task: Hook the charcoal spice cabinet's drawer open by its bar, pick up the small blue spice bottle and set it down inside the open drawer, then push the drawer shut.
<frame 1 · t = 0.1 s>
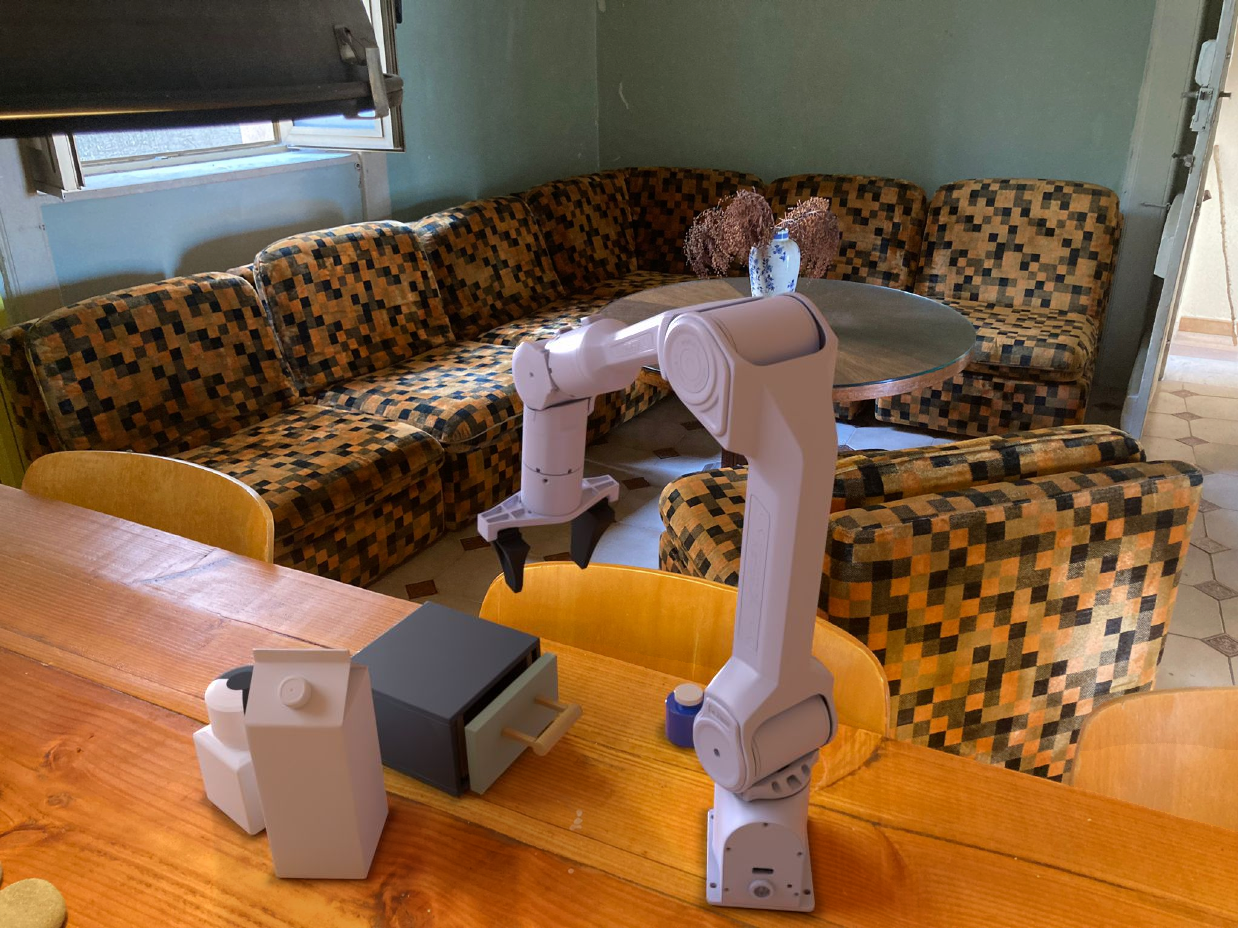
hand: (547, 574, 96), 10 cm above the table, tool pointing down, fingers open, 7 cm apart
milk carton: (335, 846, 78), on the table
medicine bottle: (266, 796, 84), on the table
spice bottle: (687, 732, 90), on the table
cabinet: (445, 727, 91), on the table
drawer: (485, 708, 87), point 4 cm above the table, slide at 1.0 cm
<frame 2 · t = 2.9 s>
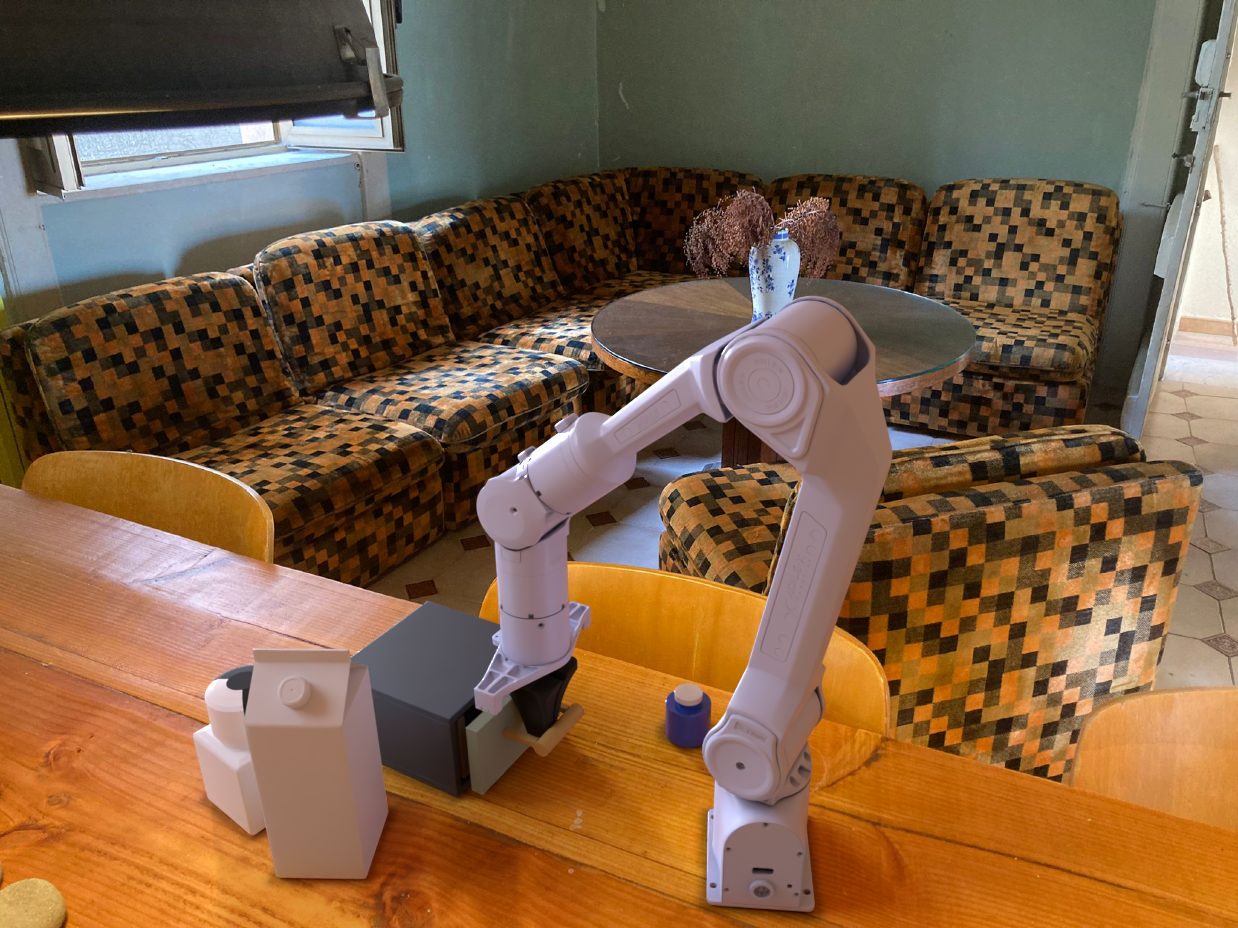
hand: (540, 732, 85), 4 cm above the table, tool pointing down, fingers closed, pressing on drawer
drawer: (486, 708, 87), point 4 cm above the table, slide at 1.1 cm, touching gripper
everything else where it was.
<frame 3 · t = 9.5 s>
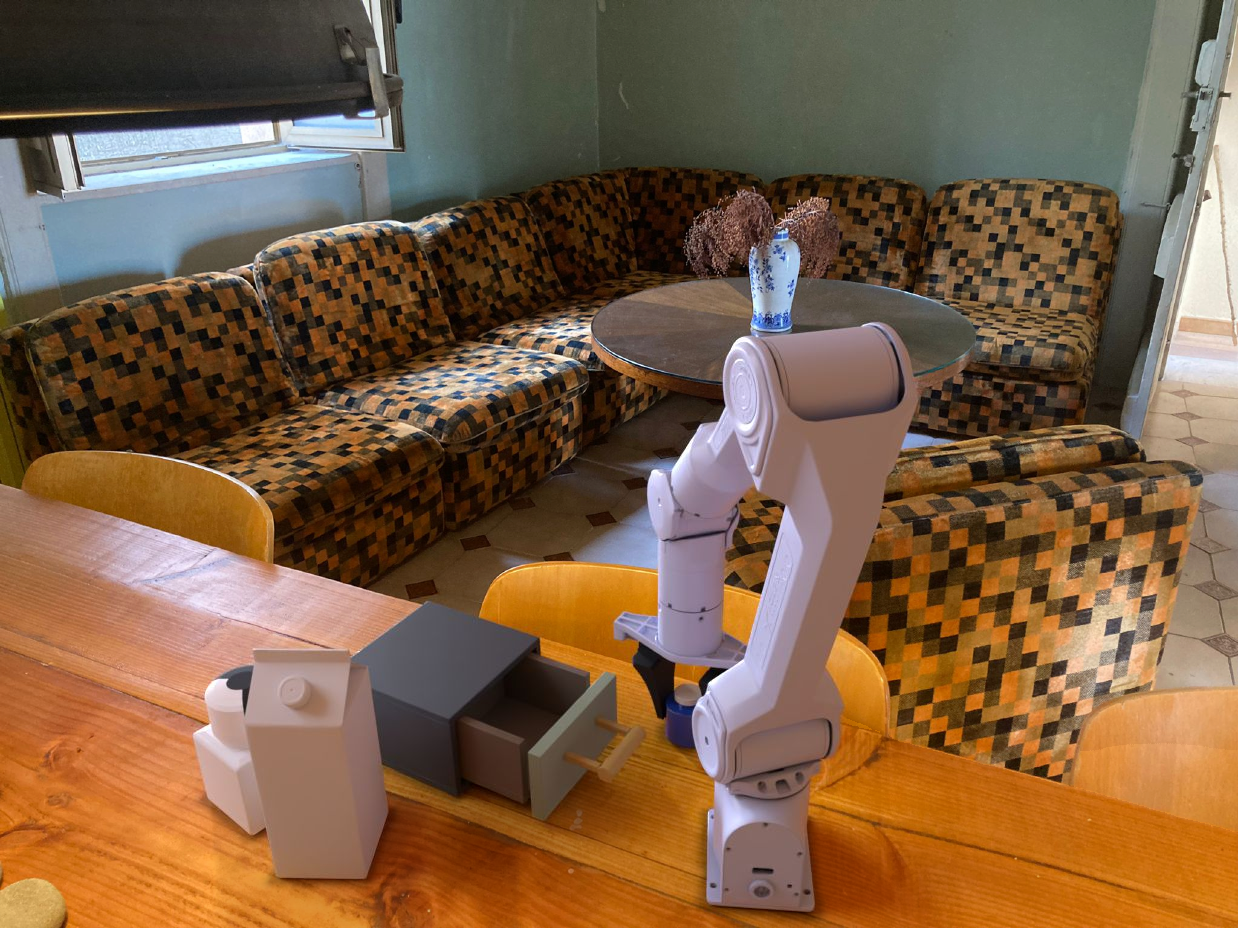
hand: (688, 720, 89), 1 cm above the table, tool pointing down, fingers closed on spice bottle, 4 cm apart
spice bottle: (687, 732, 90), on the table, touching gripper
drawer: (544, 730, 84), point 4 cm above the table, slide at 7.3 cm
everything else where it was.
when the fingers open (4 cm above the table, at t = 15.3 s): spice bottle stays where it is, resting on drawer.
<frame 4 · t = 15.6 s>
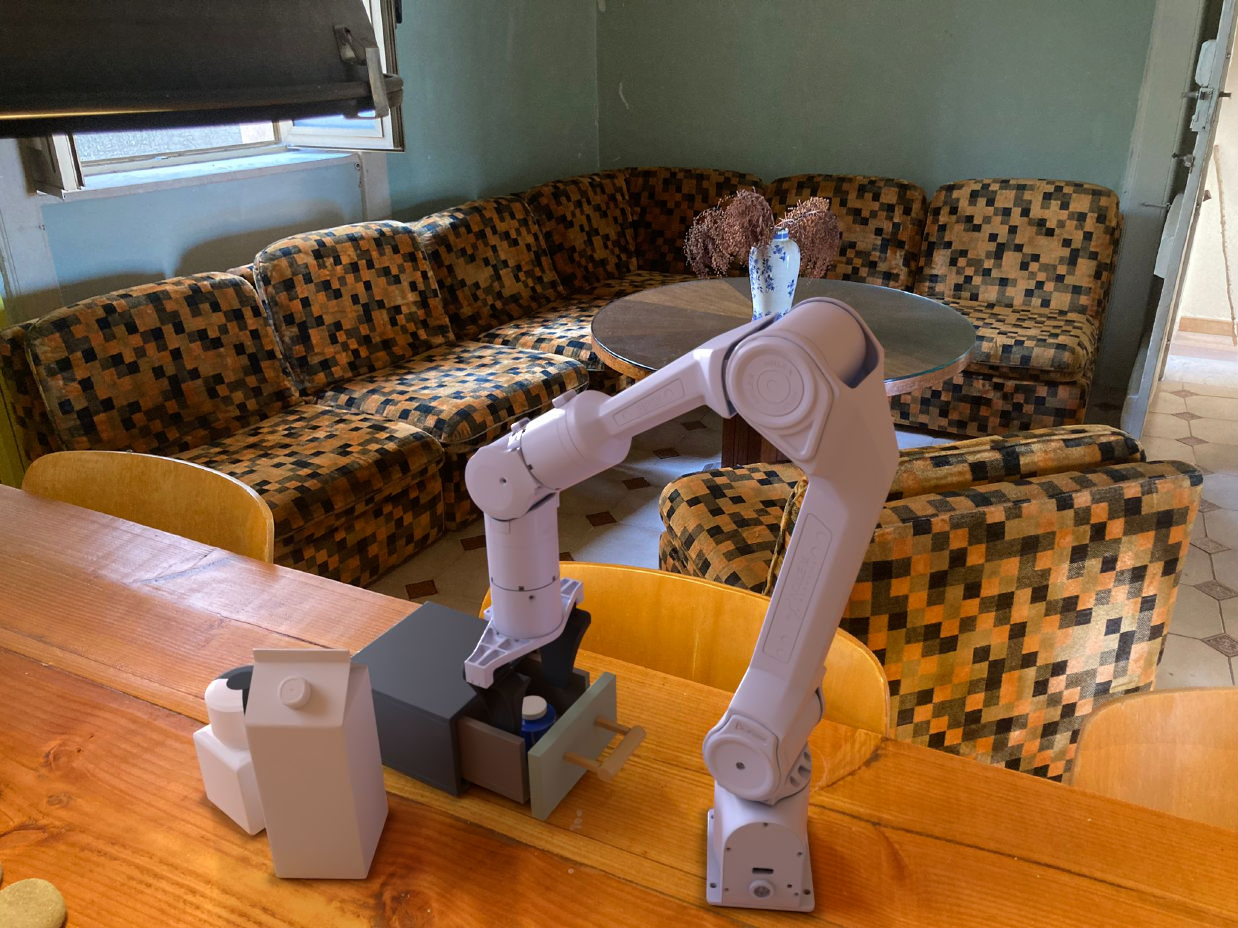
hand: (533, 708, 84), 6 cm above the table, tool pointing down, fingers open, 7 cm apart
spice bottle: (534, 747, 86), point 2 cm above the table, touching drawer
drawer: (544, 730, 84), point 4 cm above the table, slide at 7.3 cm, touching spice bottle
everything else where it was.
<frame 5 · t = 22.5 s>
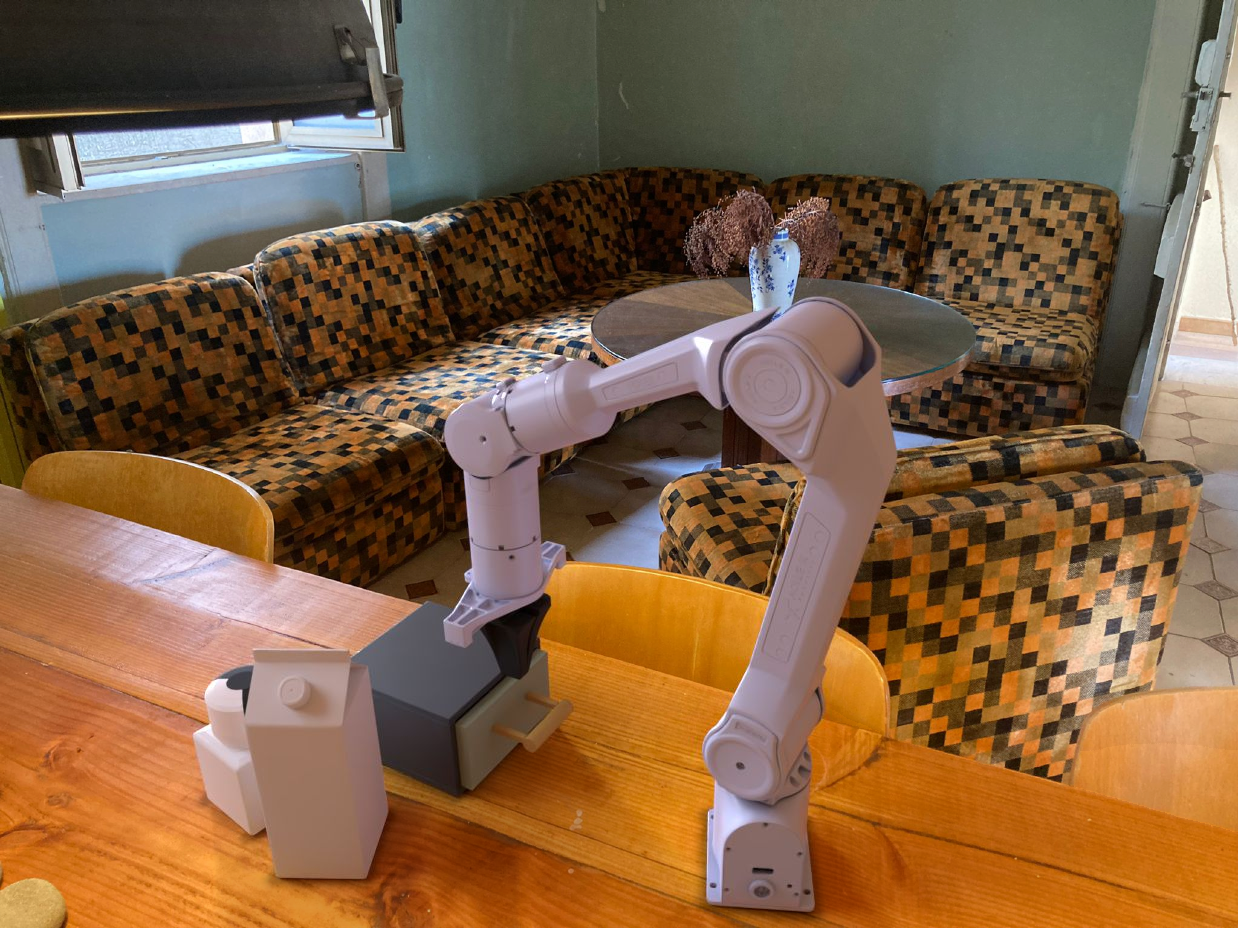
hand: (514, 672, 83), 9 cm above the table, tool pointing down, fingers closed
spice bottle: (467, 721, 89), point 2 cm above the table, touching drawer
drawer: (476, 705, 88), point 4 cm above the table, slide at 0.0 cm, touching cabinet, spice bottle
everything else where it was.
at the end: drawer pulled out 7.7 cm at the most during the clip, back to where it started at the end; spice bottle inside the target area in the cabinet (2.9 cm from its centre), point 1.9 cm above the cabinet's base; drawer slide at 0.0 cm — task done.
